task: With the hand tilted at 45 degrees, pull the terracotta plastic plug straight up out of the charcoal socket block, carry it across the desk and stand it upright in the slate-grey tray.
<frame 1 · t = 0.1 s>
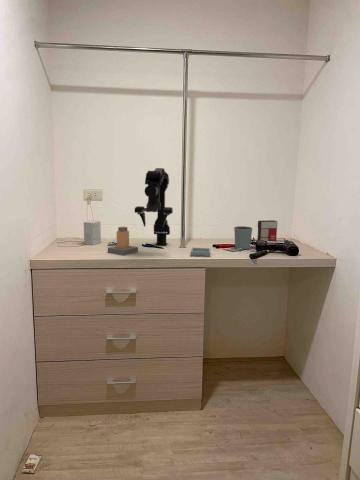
hand: (153, 226, 193), 15 cm above the table, tool pointing down, fingers open, 9 cm apart
tray: (200, 254, 198), on the table
grey upright box: (266, 246, 225), on the table
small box: (92, 243, 222), on the table
plug: (123, 252, 196), point 1 cm above the table, touching socket block
blue-grey cup: (242, 248, 217), on the table
socket block: (123, 253, 196), on the table
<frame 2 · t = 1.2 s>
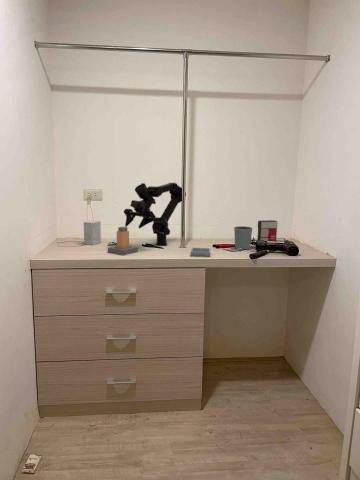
hand: (132, 227, 199), 13 cm above the table, tool tilted 45°, fingers open, 9 cm apart
nothing on the table moved.
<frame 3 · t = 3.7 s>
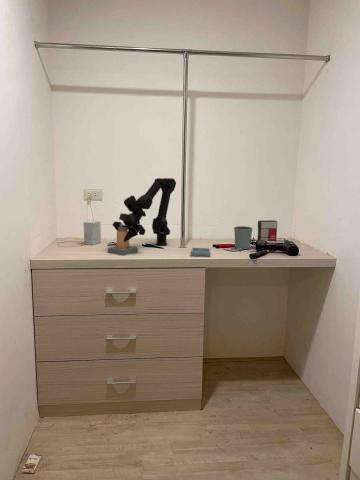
hand: (121, 240, 194), 7 cm above the table, tool tilted 45°, fingers closed on plug, 4 cm apart
plug: (123, 252, 196), point 1 cm above the table, touching gripper, socket block
everything else where it was.
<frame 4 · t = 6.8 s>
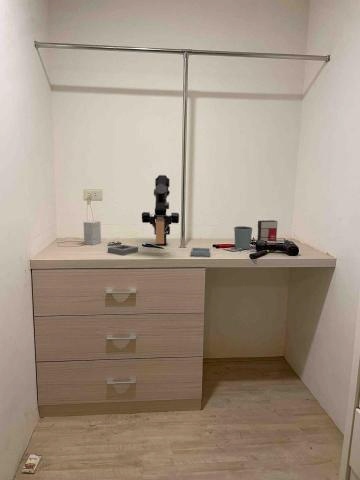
hand: (160, 231, 187), 13 cm above the table, tool tilted 45°, fingers closed on plug, 4 cm apart
plug: (159, 242, 189), point 7 cm above the table, touching gripper
everything else where it was.
when the fingers open (8 cm above the table, at t = 9.9 s): plug drops 1 cm, resting on tray.
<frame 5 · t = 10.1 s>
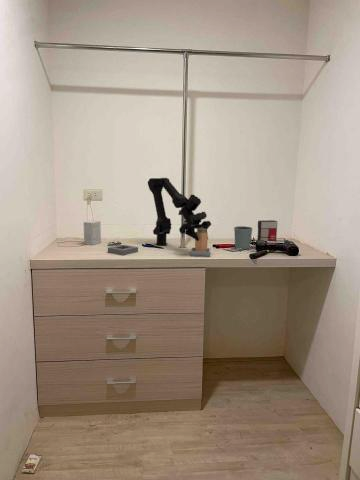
hand: (203, 239, 196), 8 cm above the table, tool tilted 45°, fingers open, 6 cm apart
plug: (200, 253, 198), point 1 cm above the table, touching tray
everything else where it was.
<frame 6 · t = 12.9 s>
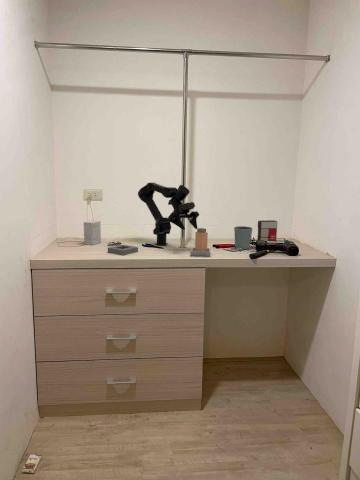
hand: (190, 229, 202), 13 cm above the table, tool tilted 45°, fingers open, 9 cm apart
nothing on the table moved.
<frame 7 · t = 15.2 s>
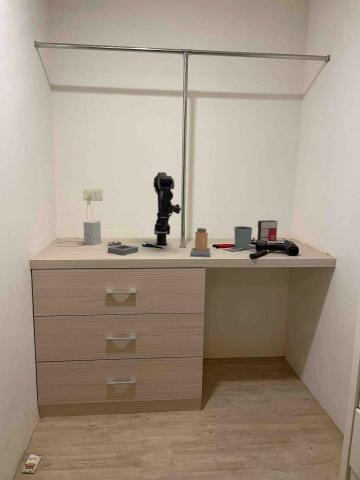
hand: (164, 228, 205), 12 cm above the table, tool pointing down, fingers open, 9 cm apart
nothing on the table moved.
at the end: plug 0.1 cm off-centre on the tray, point 0.8 cm above the tray's base; plug tilted 0°; the gripper is holding nothing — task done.
